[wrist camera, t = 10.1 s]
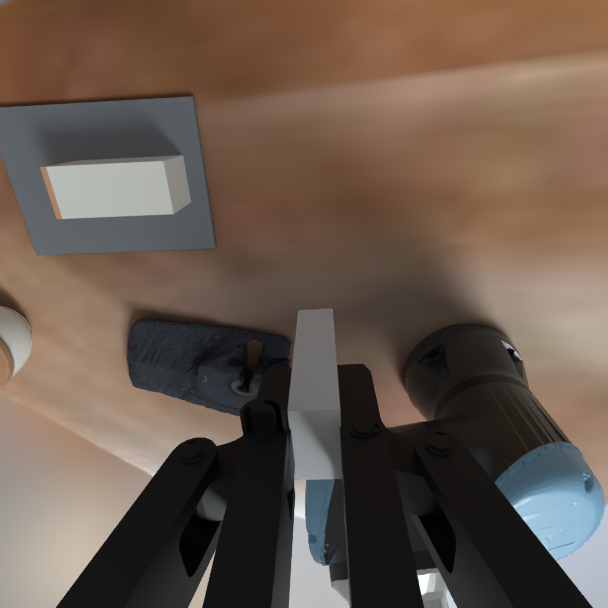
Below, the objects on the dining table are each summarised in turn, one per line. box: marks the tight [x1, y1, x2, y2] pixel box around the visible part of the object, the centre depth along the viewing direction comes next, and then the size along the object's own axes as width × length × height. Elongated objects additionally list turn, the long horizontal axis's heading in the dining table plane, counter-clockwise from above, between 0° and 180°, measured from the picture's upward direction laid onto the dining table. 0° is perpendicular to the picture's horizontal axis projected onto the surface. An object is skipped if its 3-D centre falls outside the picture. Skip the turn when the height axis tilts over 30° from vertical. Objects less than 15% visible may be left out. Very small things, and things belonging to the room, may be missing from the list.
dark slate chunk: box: [127, 319, 291, 416], centre depth 53 cm, size 15×22×5 cm
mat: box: [0, 96, 217, 255], centre depth 44 cm, size 16×22×1 cm
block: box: [40, 155, 191, 219], centre depth 41 cm, size 5×6×12 cm
